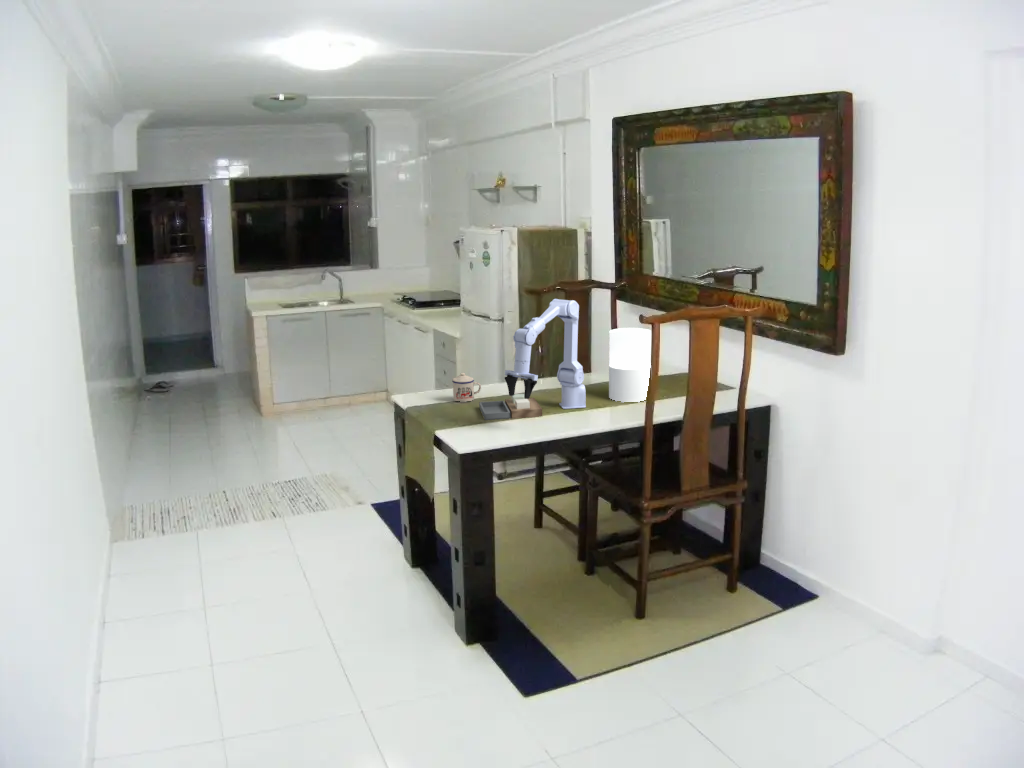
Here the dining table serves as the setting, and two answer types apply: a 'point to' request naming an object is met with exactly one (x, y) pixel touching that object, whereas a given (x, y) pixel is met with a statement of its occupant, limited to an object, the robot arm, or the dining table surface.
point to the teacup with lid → (464, 388)
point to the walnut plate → (523, 413)
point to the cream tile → (522, 403)
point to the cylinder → (629, 364)
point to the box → (494, 410)
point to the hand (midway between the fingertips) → (519, 397)
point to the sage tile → (517, 397)
